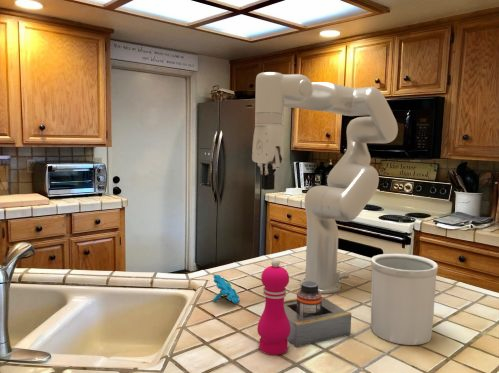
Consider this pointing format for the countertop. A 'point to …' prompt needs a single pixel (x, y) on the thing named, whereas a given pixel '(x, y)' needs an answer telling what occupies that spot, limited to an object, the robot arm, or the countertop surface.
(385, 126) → the robot arm
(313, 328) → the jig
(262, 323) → the pepper mill
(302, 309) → the supplement bottle
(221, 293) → the cyan jagged piece
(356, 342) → the countertop surface
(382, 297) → the utensil holder
